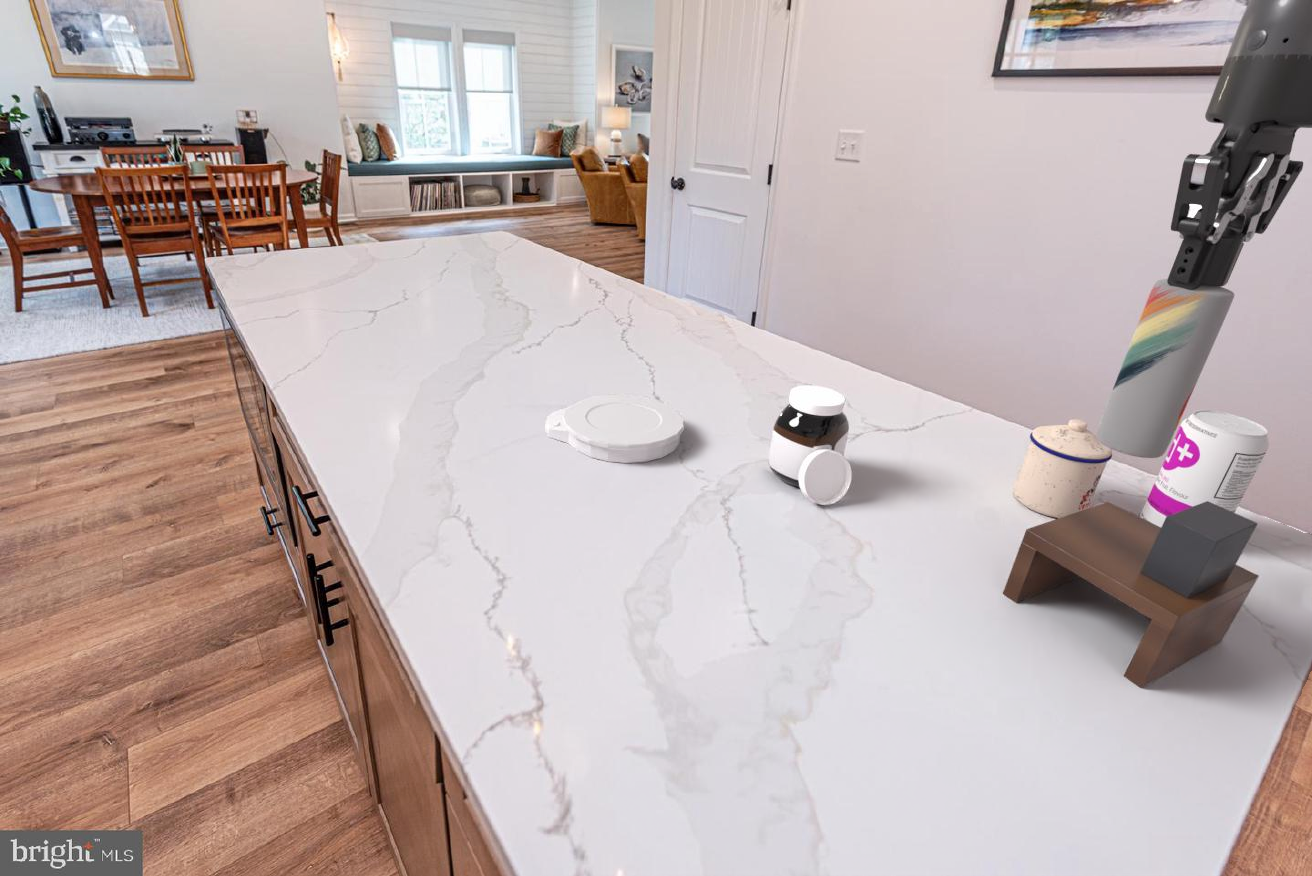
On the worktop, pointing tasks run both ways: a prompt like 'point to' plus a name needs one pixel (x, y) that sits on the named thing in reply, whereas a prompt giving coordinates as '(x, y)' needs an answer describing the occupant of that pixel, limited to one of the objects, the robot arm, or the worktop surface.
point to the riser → (1128, 584)
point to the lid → (618, 428)
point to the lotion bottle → (1168, 357)
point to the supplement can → (1207, 464)
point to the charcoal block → (1197, 548)
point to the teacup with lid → (1061, 469)
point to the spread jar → (812, 444)
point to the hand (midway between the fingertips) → (1196, 285)
